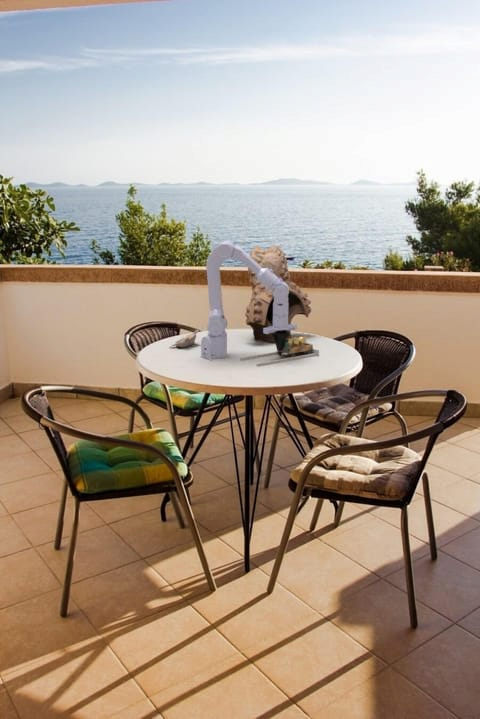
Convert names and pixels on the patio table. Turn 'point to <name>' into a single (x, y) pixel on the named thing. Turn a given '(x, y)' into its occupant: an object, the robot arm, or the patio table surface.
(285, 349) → the cart
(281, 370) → the patio table surface
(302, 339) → the part
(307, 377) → the patio table surface
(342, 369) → the patio table surface
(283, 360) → the track
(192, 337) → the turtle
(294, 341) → the part
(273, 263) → the bust
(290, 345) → the part
